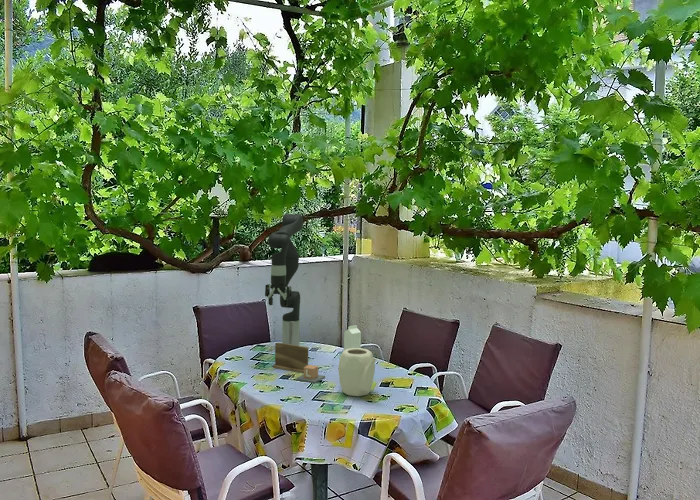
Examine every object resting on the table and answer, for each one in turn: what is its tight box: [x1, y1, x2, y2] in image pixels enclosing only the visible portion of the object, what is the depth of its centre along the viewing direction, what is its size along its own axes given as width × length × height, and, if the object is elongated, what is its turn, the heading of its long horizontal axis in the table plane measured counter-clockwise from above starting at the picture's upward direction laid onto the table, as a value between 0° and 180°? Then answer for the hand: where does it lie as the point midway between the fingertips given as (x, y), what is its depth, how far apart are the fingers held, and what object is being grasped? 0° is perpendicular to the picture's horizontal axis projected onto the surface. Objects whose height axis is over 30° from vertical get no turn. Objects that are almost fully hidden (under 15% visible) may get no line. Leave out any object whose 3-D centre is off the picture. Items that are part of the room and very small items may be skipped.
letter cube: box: [303, 364, 319, 379], centre depth 278 cm, size 5×5×5 cm
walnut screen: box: [272, 342, 309, 374], centre depth 293 cm, size 6×18×12 cm, turn 65°
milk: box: [343, 324, 362, 351], centre depth 295 cm, size 6×6×22 cm
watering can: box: [337, 347, 377, 397], centre depth 259 cm, size 16×27×19 cm, turn 31°
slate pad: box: [295, 374, 326, 384], centre depth 279 cm, size 10×10×1 cm
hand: (278, 306), depth 298 cm, fingers open, 8 cm apart
